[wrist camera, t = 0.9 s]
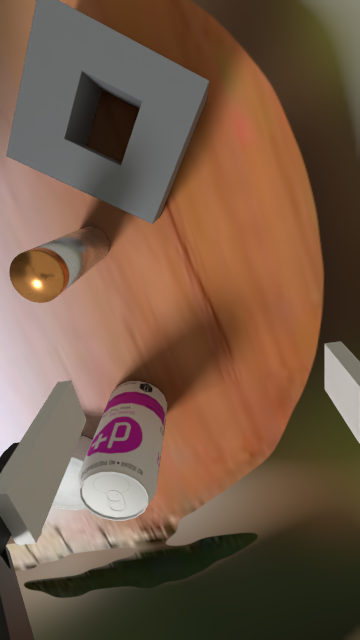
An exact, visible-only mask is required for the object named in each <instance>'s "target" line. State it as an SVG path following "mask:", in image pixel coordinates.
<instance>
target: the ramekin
mask: <svg viewBox="0 0 360 640" xmlns="http://www.w3.org/2000/svg"><path fill="white" fill-rule="evenodd" d="M91 443H92V439H90V438H88V437H85V436H82V435H81V436H80V438H79V440H78V443H77V445H76V448H75V450H74V453H73V455H72V457H71V460H70V462H69V465H68V467H67V470H66V472H65V474H64V477H63V479H62V482H61V484H60V486H59V489H58V491H57V494H56V496H55V499H54V501H53V503H52V506H55V507H57V508H61V509H67V510H81V509H86V507H85V506H84V505H83V503H82V501H81V499H80V495H79V489H80V488H79V480H78V474H79V472H80V470H81V467H82V465H83V462H84V460H85V457H86V455H87V452H88V450H89V448H90V445H91Z"/></svg>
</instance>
